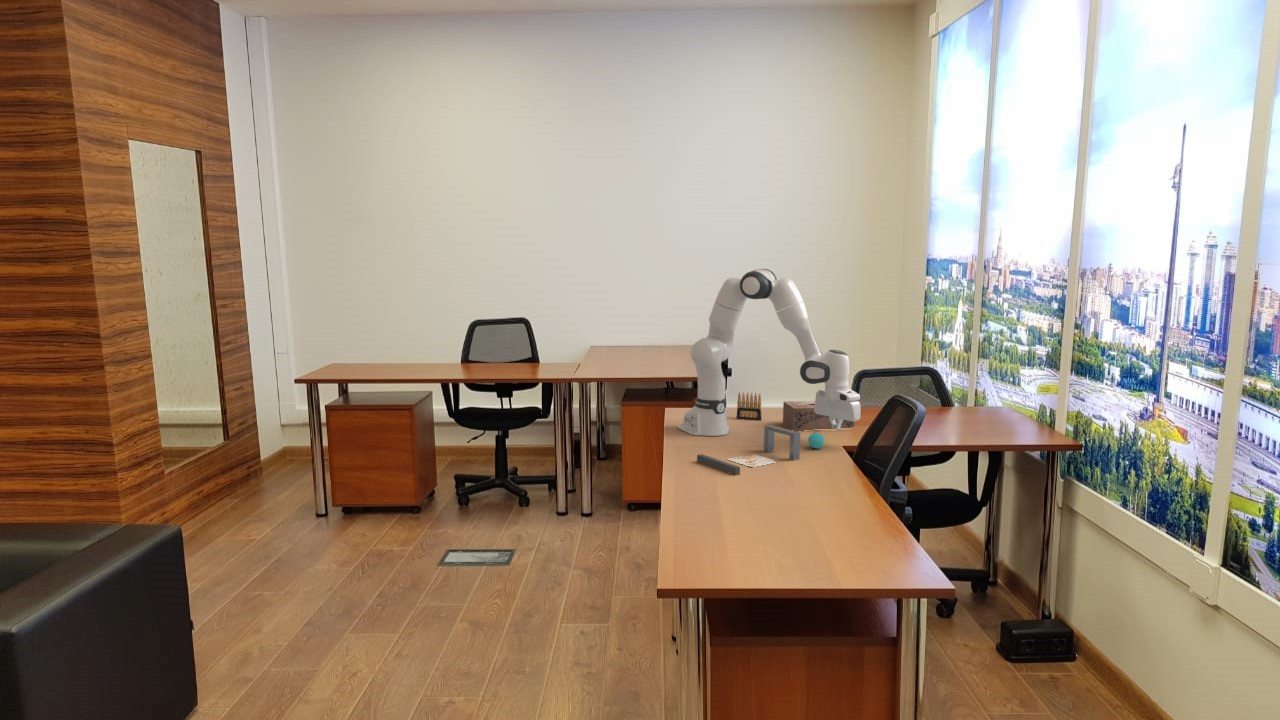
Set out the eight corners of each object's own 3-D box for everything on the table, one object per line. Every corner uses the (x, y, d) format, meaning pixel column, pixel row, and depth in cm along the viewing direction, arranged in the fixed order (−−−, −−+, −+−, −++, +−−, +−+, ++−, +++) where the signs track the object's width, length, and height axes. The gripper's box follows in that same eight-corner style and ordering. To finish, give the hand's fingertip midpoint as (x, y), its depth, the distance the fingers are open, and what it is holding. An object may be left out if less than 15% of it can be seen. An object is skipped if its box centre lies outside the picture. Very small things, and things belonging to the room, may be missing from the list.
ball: (804, 448, 306) (804, 432, 305) (815, 445, 310) (816, 430, 309) (816, 451, 301) (816, 435, 300) (827, 449, 305) (828, 433, 304)
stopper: (697, 461, 286) (697, 454, 285) (701, 461, 287) (701, 454, 286) (735, 475, 269) (735, 467, 269) (739, 474, 271) (739, 466, 270)
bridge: (793, 460, 288) (794, 433, 287) (763, 451, 300) (764, 425, 299) (799, 459, 290) (800, 432, 289) (769, 450, 302) (770, 424, 301)
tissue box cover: (841, 423, 350) (842, 400, 349) (853, 431, 336) (854, 407, 335) (782, 424, 347) (783, 401, 346) (793, 432, 333) (794, 408, 332)
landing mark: (726, 459, 289) (726, 459, 289) (753, 454, 296) (753, 453, 296) (751, 468, 278) (751, 467, 278) (779, 462, 286) (779, 461, 286)
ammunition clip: (761, 419, 355) (762, 392, 353) (761, 420, 353) (761, 393, 352) (737, 418, 358) (737, 391, 356) (736, 419, 356) (737, 392, 354)
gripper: (810, 390, 315) (810, 425, 317) (852, 397, 298) (851, 434, 300) (822, 388, 318) (821, 423, 320) (863, 395, 302) (862, 432, 304)
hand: (836, 429), depth 310 cm, fingers closed
